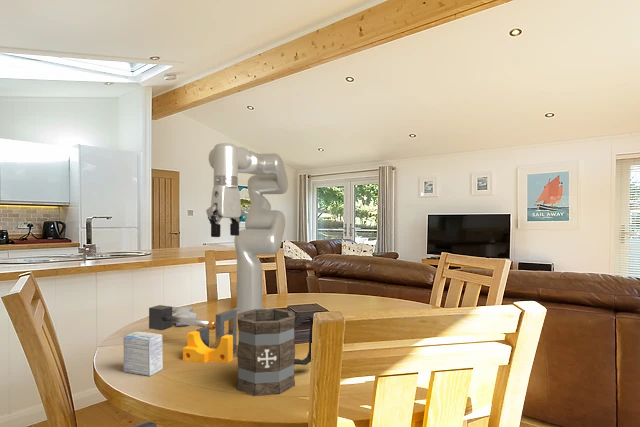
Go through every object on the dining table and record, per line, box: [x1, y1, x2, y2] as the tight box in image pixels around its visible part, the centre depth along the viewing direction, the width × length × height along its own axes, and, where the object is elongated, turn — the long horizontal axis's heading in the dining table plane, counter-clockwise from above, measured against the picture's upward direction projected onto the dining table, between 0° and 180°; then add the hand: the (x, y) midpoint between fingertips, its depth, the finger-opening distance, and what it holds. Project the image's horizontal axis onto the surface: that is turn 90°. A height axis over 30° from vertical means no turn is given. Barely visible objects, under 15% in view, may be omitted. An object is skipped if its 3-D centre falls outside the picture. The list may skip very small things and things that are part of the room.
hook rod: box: [148, 304, 216, 331], centre depth 115 cm, size 23×4×6 cm, turn 66°
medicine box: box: [123, 331, 164, 377], centre depth 96 cm, size 8×4×9 cm, turn 71°
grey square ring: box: [195, 308, 238, 359], centre depth 110 cm, size 13×7×11 cm, turn 66°
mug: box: [236, 308, 313, 397], centre depth 92 cm, size 20×14×15 cm
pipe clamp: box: [182, 330, 234, 364], centre depth 104 cm, size 12×4×6 cm, turn 72°
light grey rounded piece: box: [171, 305, 198, 327], centre depth 141 cm, size 10×5×15 cm
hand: (225, 236), depth 130 cm, fingers open, 9 cm apart
